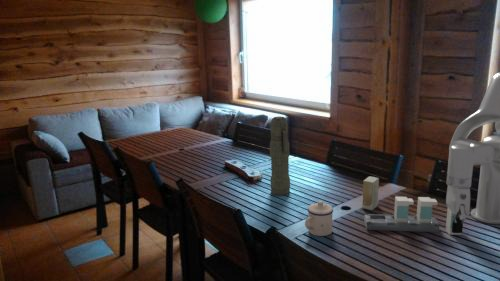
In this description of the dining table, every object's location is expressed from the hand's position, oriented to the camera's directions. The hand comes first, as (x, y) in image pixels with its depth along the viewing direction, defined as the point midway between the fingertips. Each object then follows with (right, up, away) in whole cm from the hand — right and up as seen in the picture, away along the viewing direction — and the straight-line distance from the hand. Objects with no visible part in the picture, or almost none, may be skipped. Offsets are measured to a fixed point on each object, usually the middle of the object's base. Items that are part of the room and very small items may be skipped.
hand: (454, 228), depth 142 cm
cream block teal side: (-9, +1, +5) cm, 10 cm away
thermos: (-58, +7, +43) cm, 73 cm away
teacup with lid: (-48, -3, +5) cm, 48 cm away
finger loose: (0, -1, +1) cm, 2 cm away
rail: (-17, -1, +6) cm, 18 cm away
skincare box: (-23, +4, +24) cm, 33 cm away
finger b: (-17, +1, +6) cm, 18 cm away
